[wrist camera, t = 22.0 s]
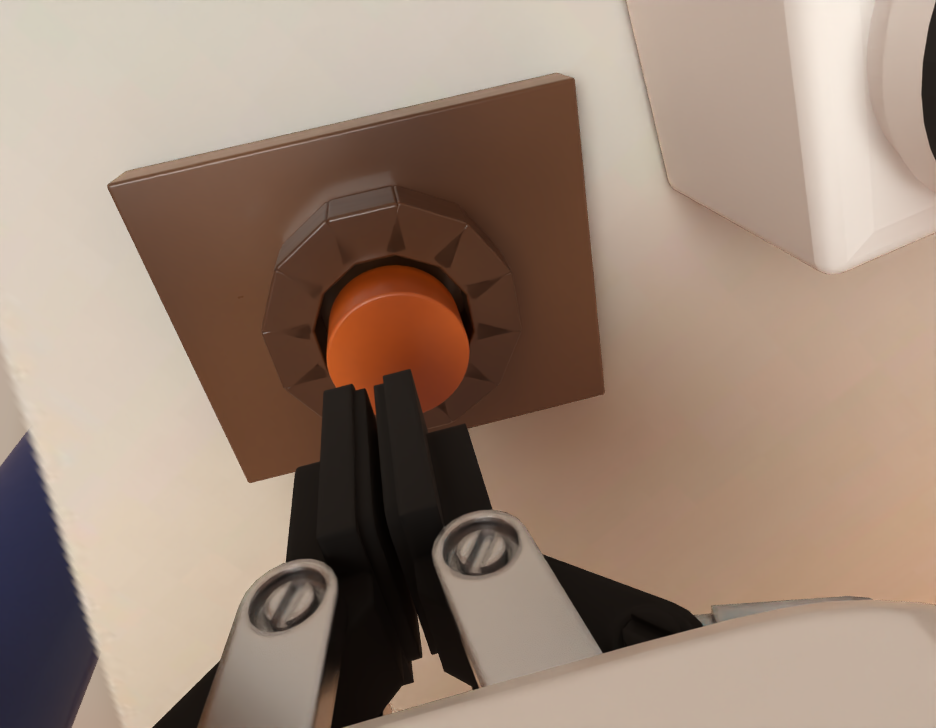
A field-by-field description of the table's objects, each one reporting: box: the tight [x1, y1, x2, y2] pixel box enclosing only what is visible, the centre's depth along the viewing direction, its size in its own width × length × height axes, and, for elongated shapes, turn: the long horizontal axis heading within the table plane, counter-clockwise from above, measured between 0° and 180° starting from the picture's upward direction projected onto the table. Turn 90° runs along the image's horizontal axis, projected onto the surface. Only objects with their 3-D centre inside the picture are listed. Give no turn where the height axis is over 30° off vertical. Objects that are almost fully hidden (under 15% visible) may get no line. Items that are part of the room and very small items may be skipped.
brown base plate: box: [107, 73, 605, 483], centre depth 17 cm, size 11×9×3 cm
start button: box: [326, 265, 470, 415], centre depth 15 cm, size 3×3×2 cm
